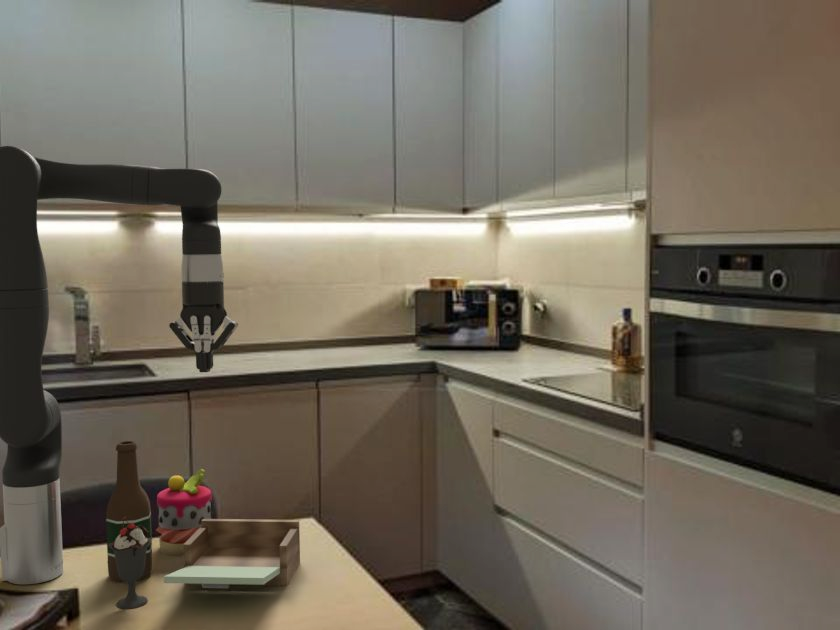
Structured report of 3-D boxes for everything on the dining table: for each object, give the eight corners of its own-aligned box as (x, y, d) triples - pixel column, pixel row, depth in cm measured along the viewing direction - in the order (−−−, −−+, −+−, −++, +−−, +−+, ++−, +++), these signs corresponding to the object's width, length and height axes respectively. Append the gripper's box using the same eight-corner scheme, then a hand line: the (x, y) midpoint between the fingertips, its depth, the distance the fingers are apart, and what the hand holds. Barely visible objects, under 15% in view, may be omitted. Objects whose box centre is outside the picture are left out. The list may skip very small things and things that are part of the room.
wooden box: (184, 583, 152) (183, 538, 151) (204, 560, 163) (203, 518, 162) (287, 585, 151) (286, 540, 150) (300, 562, 162) (299, 519, 161)
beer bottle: (139, 584, 151) (135, 448, 150) (98, 581, 153) (94, 446, 151) (161, 568, 159) (157, 438, 157) (122, 565, 161) (118, 436, 159)
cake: (165, 560, 164) (162, 481, 162) (152, 543, 173) (149, 469, 171) (220, 550, 169) (218, 473, 168) (204, 534, 178) (202, 462, 177)
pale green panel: (188, 576, 151) (163, 588, 139) (189, 565, 151) (164, 576, 139) (280, 577, 150) (263, 589, 138) (280, 566, 150) (263, 577, 138)
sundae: (114, 614, 139) (110, 522, 138) (108, 599, 145) (104, 510, 144) (156, 606, 142) (153, 515, 141) (148, 591, 148) (146, 505, 147)
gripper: (160, 280, 159) (163, 374, 160) (232, 279, 158) (234, 374, 160) (174, 278, 166) (177, 369, 168) (243, 278, 166) (245, 369, 167)
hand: (205, 371), depth 164 cm, fingers closed
